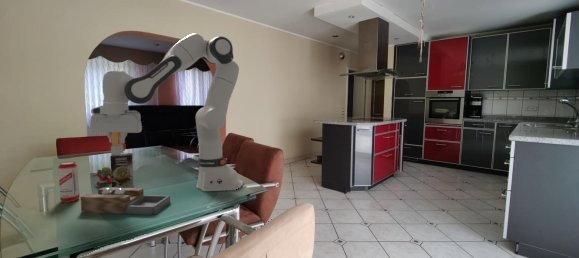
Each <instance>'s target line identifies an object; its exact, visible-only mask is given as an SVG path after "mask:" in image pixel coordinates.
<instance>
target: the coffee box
mask: <svg viewBox="0 0 579 258" xmlns="http://www.w3.org/2000/svg"><path fill="white" fill-rule="evenodd" d="M109 158H110V169H111V182H110V183H112V184H111V187H113V188H134V185H135V183H134V182H135V179H134V154H133V152H129V153H127V152H125V153H121V154H117V155H111V154H110V157H109Z"/></svg>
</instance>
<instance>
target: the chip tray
mask: <svg viewBox="0 0 579 258" xmlns="http://www.w3.org/2000/svg"><path fill="white" fill-rule="evenodd" d="M170 204H171V196H170V195H158V194H157V195H155V194H154V195H153V194H144V195H143V196H142V197H140V198H138V199H136V200H135V201H133V202H131V203H129V204H128V205H126V206H125V214H124V215H148V216H149V215H152V216H155V215H156V214H157V213H159V212H160V211H161V210H163V209H164V208H165V207H166V206H168V205H170Z"/></svg>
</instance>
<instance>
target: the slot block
mask: <svg viewBox="0 0 579 258" xmlns="http://www.w3.org/2000/svg"><path fill="white" fill-rule="evenodd" d="M106 188H110V189H112V191H113V194H112V195H102V191H103V190H104V189H106ZM117 189H119V188H113V187H112V186H111V187H108V186H107V187H106V186H105V187H101V188H99V189H97V191H98V192H97V193H98V194H97V193H96V194H95V193H94V194H90V193H87V194H84V195H82V196H80V206H81V207H80V208H81V213H83V214H85V213H87V214H89V213H91V214H117V215H118V214H121V215H122V214H124V215H126V214H125V206H126V205H128V204H129V203H131V202H133V201H135V200H136V199H138V198H140V197H142V196H143V195H145V194H144V193H145V192H144V188H143V187H131V188H122V189H124V190H125V195H114V192H115V190H117Z"/></svg>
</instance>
